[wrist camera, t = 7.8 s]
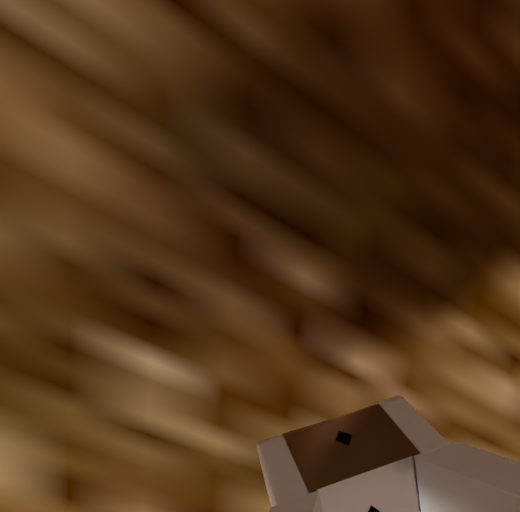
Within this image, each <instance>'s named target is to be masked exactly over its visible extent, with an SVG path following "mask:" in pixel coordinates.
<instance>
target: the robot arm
mask: <svg viewBox="0 0 520 512" xmlns="http://www.w3.org/2000/svg"><path fill="white" fill-rule="evenodd" d="M257 450H258V454H259V458H260V463H261V467H262V471H263V475H264V480H265V484H266V488H267V492H268V496H269V499H270V503H271V508H270V511H269V512H520V462H518V461H515V460H512V459H509V458H506V457H502V456H499V455H496V454H493V453H490V452H487V451H484V450H481V449H478V448H475V447H472V446H469V445H466V444H462V443H459V442H453V443H450V444H449V443H448V442H447V441H446V440H445V439H444V438H443V437H442V436H441V435H440V434H439V433H438V432H437V431H436V430H435V429H434V428H433V427H432V426H431V425H430V424H429V423H428V422H427V421H426V420H425V419H424V418H423V417H422V416H421V415H420V414H419V413H418V412H417V411H416V410H415V409H414V407H413V406H412V405H411V404H410V403H409V402H408V401H407V400H406V399H405V398H404V397H402V396H399V395H398V396H395V397H392V398H389V399H387V400H384V401H381V402H378V403H376V404H375V405H372V406H369V407H366V408H363V409H360V410H357V411H354V412H351V413H348V414H345V415H343V416H340V417H337V418H334V419H331V420H326V421H323V422H320V423H316V424H313V425H310V426H307V427H303V428H300V429H297V430H294V431H290V432H287V433H284V434H282V435H278V436H275V437H272V438H269V439H265V440H262V441H259V442H257Z"/></svg>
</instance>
